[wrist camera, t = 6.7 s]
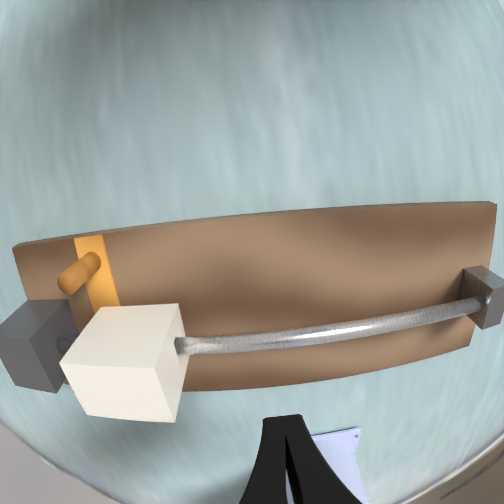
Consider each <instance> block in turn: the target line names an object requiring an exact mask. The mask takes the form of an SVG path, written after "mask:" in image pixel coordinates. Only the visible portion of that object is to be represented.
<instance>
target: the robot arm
mask: <svg viewBox="0 0 504 504" xmlns="http://www.w3.org/2000/svg"><path fill="white" fill-rule="evenodd" d="M361 432H362V431H361V428H352V429H348V430H343V431H337V432H332V433H326V434H320V435H314V436H311V435H310V433H309V431H308V429H307V427H306V425H305V422H304V420H303V417H302V415H300V414H296V415H287V416H278V417H268V418H265V419H263V428H262V437H261V442H260V447H259V451H258V455H257V458H256V462H255V465H254V468H253V471H252V474H251V477H250V479H249V482H248V485H247V487H246V489H245V492H244V494H243V496H242V498H241V500H240V502H239V504H370V503H369V499H368V496H367V493H366V489H365V486H364V483H363V479H362V476H361V473H360V470H359V466H358V463H357V460H356V457H355V453H356V450H357V446H358V443H359V439H360V436H361Z"/></svg>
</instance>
